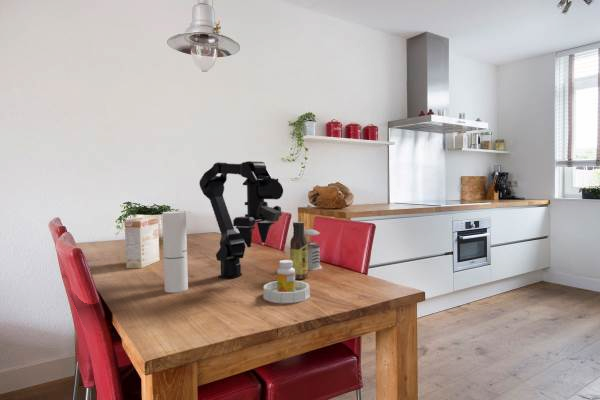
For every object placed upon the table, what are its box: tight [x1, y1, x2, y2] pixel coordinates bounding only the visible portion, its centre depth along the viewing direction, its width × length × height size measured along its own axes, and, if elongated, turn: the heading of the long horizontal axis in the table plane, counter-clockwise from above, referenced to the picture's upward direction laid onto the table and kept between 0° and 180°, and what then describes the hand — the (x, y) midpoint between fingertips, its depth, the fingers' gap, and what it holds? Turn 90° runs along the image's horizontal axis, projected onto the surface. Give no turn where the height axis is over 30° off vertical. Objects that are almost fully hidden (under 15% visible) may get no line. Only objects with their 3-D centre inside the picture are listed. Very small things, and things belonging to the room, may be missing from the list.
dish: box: [262, 280, 311, 304], centre depth 116 cm, size 14×14×3 cm
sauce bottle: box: [289, 221, 309, 280], centre depth 137 cm, size 7×6×20 cm
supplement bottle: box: [276, 259, 296, 292], centre depth 116 cm, size 5×5×10 cm
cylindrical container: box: [162, 210, 189, 294], centre depth 124 cm, size 7×7×25 cm
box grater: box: [304, 204, 323, 271], centre depth 152 cm, size 10×12×25 cm
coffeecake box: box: [124, 216, 160, 269], centre depth 162 cm, size 15×7×20 cm, turn 172°
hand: (256, 244), depth 130 cm, fingers open, 9 cm apart
